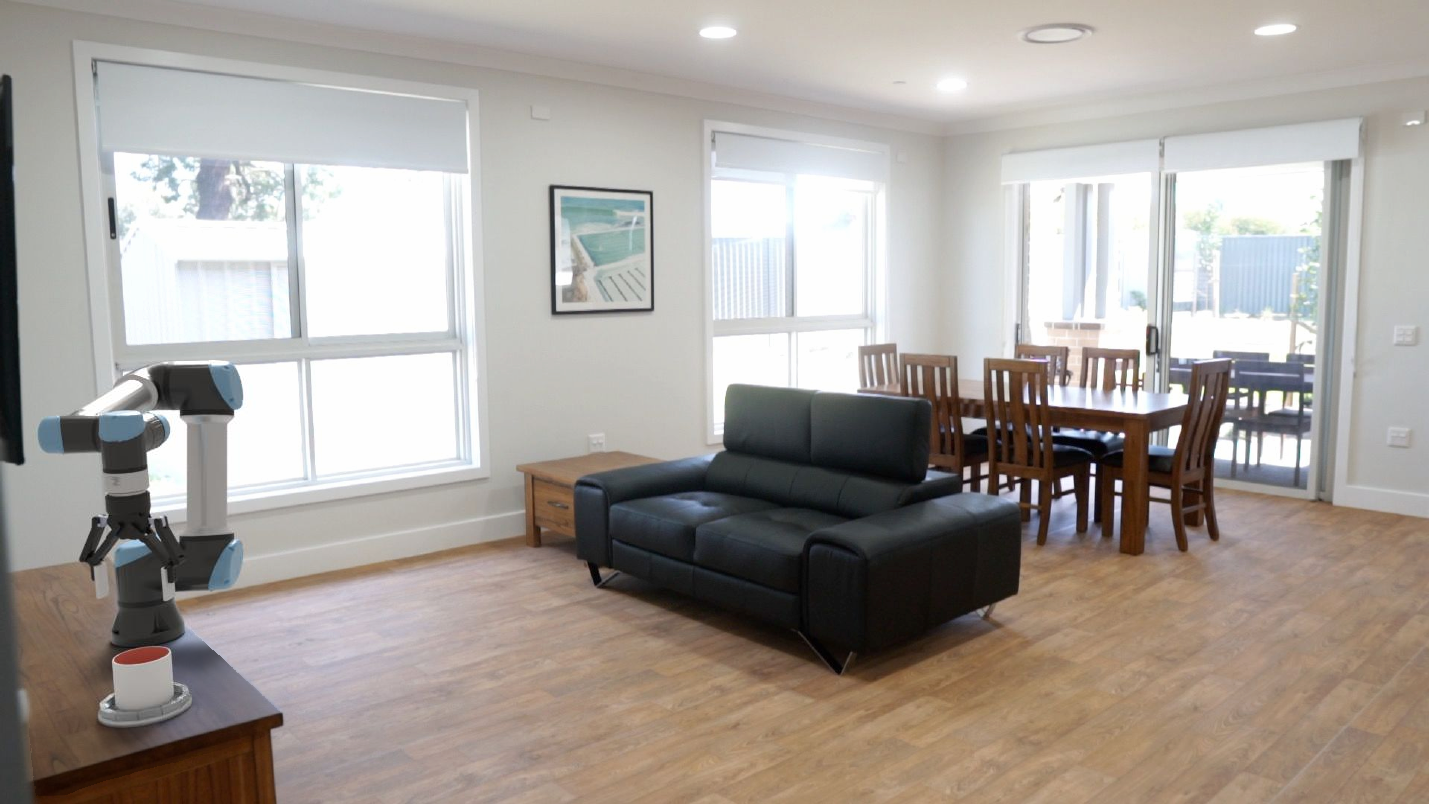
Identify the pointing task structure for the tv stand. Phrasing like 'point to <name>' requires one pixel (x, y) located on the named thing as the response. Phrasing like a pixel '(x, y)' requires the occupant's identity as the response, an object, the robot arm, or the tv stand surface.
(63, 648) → the tv stand surface
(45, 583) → the tv stand surface
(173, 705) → the faceted steel dish
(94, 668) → the tv stand surface
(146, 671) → the cup
